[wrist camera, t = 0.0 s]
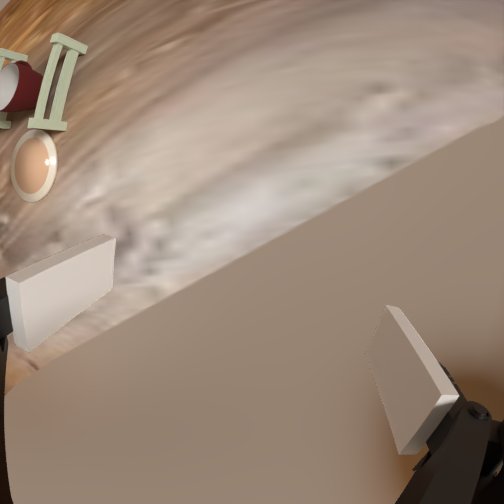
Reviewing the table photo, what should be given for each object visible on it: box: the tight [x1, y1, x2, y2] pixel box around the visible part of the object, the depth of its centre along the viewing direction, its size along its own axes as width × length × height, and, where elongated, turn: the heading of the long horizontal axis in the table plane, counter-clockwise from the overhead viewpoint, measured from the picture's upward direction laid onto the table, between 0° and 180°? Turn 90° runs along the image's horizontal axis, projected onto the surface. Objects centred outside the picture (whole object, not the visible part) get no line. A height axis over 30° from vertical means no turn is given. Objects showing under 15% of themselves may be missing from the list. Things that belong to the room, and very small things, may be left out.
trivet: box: [11, 129, 58, 202], centre depth 42 cm, size 13×13×1 cm
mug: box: [0, 60, 50, 112], centre depth 34 cm, size 10×8×10 cm
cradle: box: [0, 33, 88, 131], centre depth 35 cm, size 15×18×8 cm
